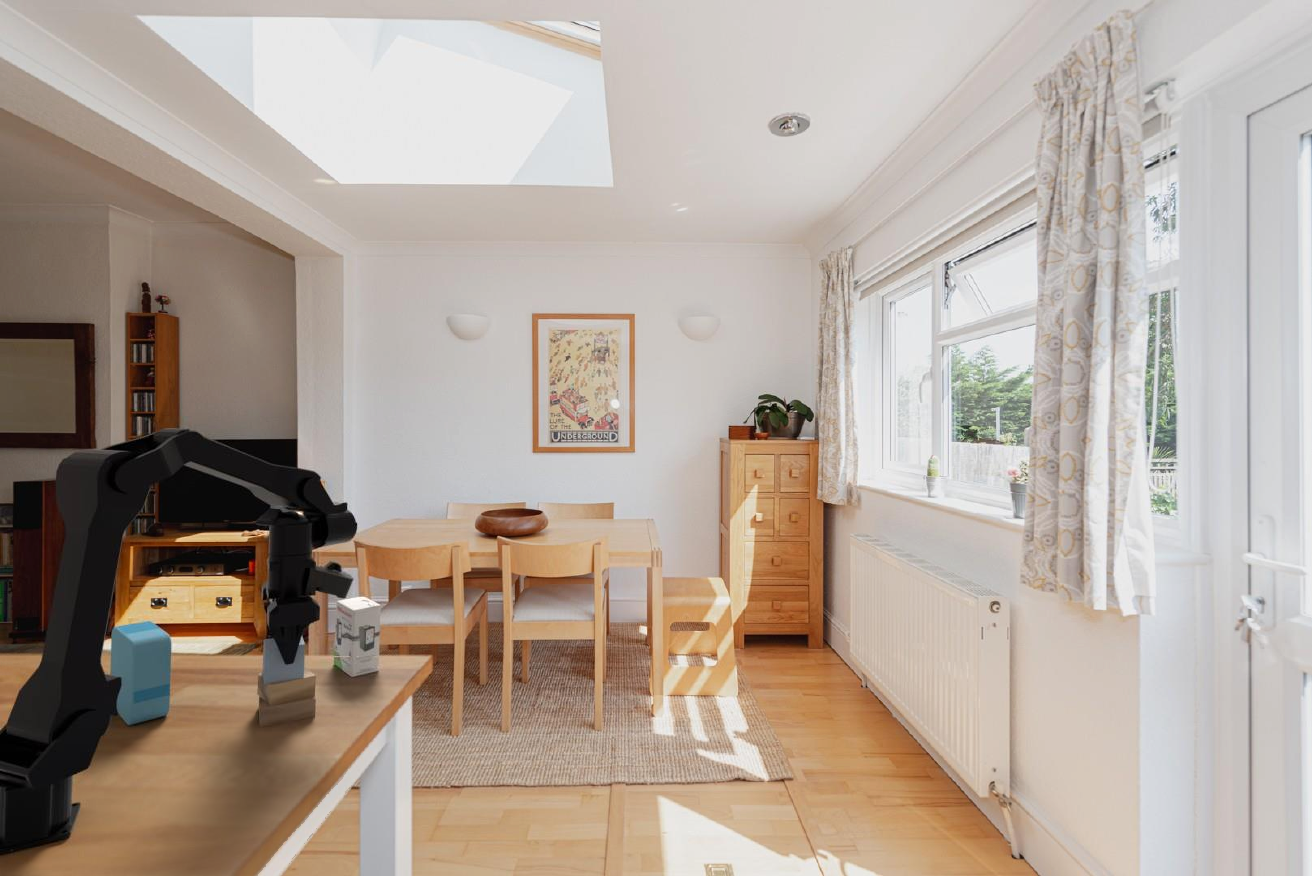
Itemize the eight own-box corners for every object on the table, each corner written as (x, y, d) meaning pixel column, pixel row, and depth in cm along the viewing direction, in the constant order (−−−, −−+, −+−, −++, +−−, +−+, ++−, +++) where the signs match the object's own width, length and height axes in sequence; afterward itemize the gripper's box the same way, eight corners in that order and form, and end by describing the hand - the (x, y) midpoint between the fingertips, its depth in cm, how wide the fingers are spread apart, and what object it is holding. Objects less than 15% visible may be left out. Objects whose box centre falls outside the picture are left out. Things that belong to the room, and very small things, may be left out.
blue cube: (303, 677, 93) (305, 644, 93) (264, 684, 91) (265, 649, 91) (300, 666, 98) (301, 634, 98) (262, 672, 95) (263, 639, 95)
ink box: (332, 664, 114) (334, 599, 114) (360, 658, 118) (362, 595, 118) (351, 678, 108) (353, 609, 108) (380, 671, 112) (382, 604, 112)
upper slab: (314, 695, 95) (315, 675, 95) (269, 706, 90) (270, 685, 90) (301, 683, 99) (301, 664, 99) (257, 694, 94) (258, 674, 94)
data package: (169, 718, 91) (172, 635, 91) (129, 729, 88) (132, 643, 88) (146, 695, 99) (148, 618, 99) (108, 704, 95) (111, 624, 95)
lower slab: (315, 718, 93) (315, 698, 93) (259, 729, 90) (260, 708, 90) (311, 701, 99) (311, 682, 99) (258, 710, 95) (259, 690, 95)
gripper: (360, 559, 91) (356, 667, 91) (340, 539, 107) (337, 631, 107) (270, 566, 85) (266, 681, 85) (263, 544, 100) (259, 642, 100)
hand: (287, 656), depth 94 cm, fingers open, 7 cm apart
